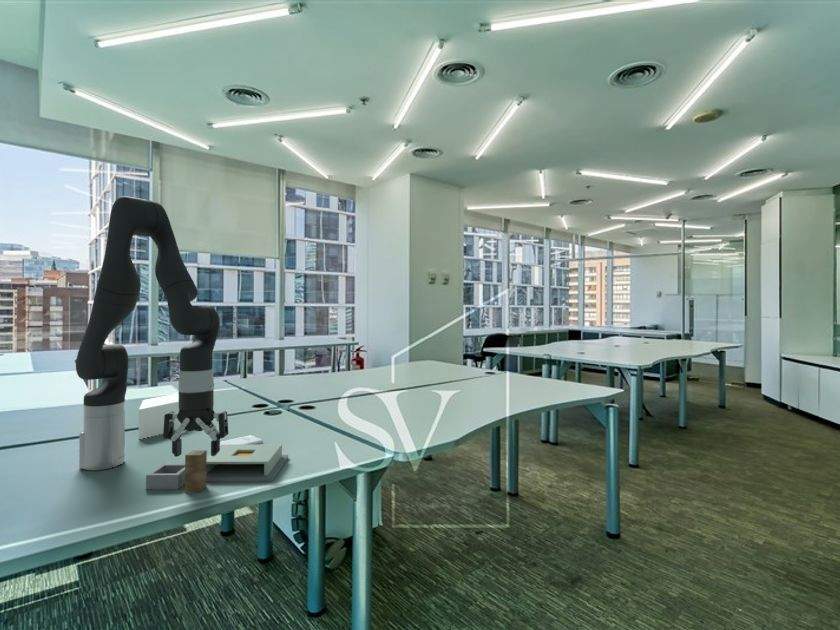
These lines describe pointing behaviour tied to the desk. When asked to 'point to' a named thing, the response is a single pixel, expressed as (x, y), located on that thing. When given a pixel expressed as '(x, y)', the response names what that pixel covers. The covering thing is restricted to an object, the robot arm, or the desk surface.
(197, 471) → the brown block
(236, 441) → the external hard drive
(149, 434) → the white rectangular box
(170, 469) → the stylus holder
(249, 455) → the breaker button
